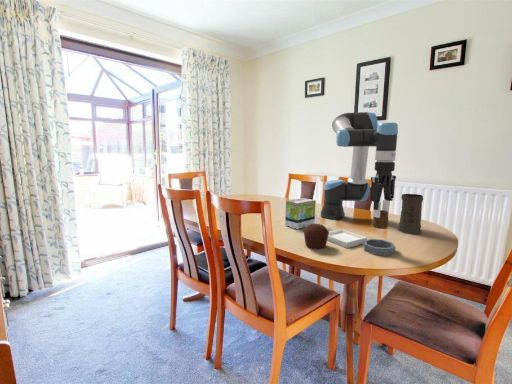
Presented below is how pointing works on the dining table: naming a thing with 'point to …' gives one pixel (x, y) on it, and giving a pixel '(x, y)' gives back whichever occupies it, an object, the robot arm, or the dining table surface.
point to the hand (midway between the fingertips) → (380, 216)
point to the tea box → (300, 213)
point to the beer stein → (411, 214)
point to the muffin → (316, 236)
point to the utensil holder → (381, 220)
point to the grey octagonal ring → (370, 243)
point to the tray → (345, 238)
